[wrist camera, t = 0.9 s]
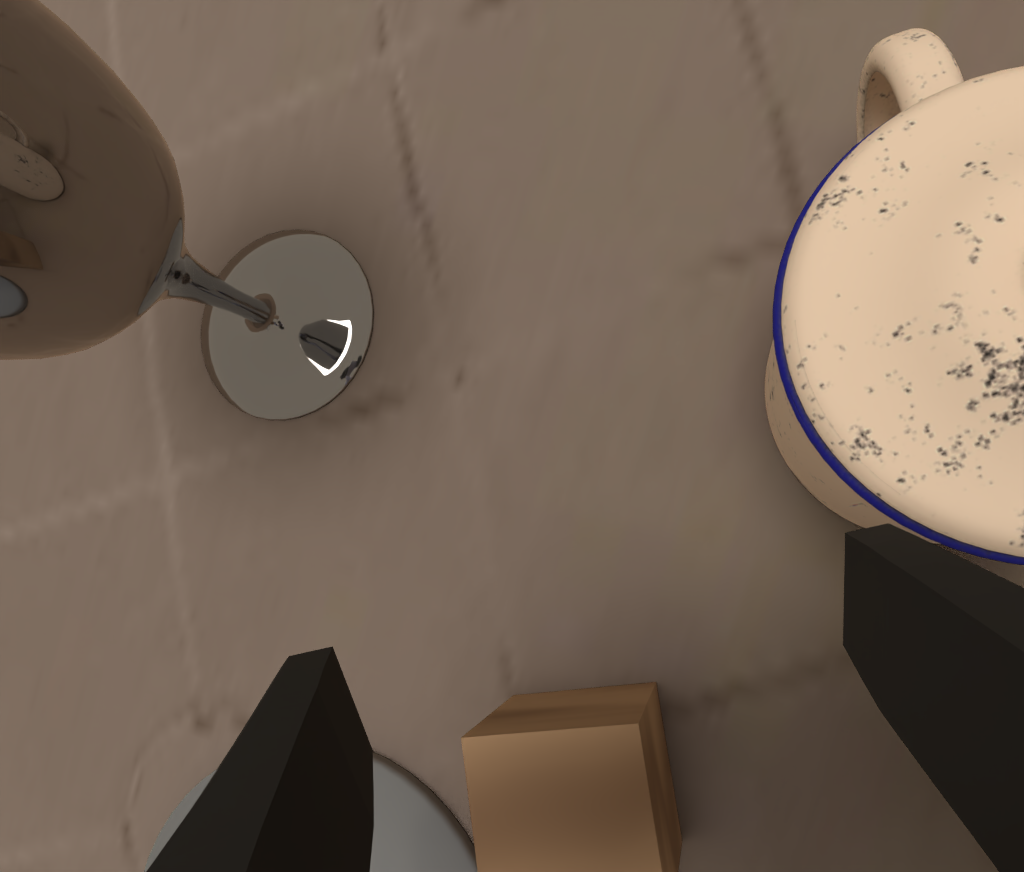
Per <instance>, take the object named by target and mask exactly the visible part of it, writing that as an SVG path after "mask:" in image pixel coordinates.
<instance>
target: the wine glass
mask: <svg viewBox="0 0 1024 872" xmlns="http://www.w3.org/2000/svg"><path fill="white" fill-rule="evenodd" d="M184 232H185V211H184V198H183V193H182V189H181V185H180V180H179V176H178V172H177V168H176V164H175V160H174V158H173V156H172V154H171V151H170V149H169V147H168V145H167V143H166V141H165V139H164V137H163V136H162V134H161V133H160V131H159V130H158V128H157V126H156V125H155V123H154V122H153V120H152V119H151V117H150V116H149V115H148V113H147V112H146V110H145V109H144V108H143V106H142V105H141V103H140V102H139V101H138V100H137V99H136V97H135V96H134V95H133V94H132V93H131V91H130V90H129V89H128V88H127V87H126V85H125V84H124V83H123V82H122V81H121V79H120V78H119V77H118V76H117V75H116V74H115V72H114V71H113V70H112V69H111V68H110V67H109V66H108V65H107V64H106V63H105V62H104V61H103V60H102V59H101V58H100V57H99V56H98V55H97V54H96V53H95V52H94V51H93V50H92V49H91V48H90V47H89V46H88V45H87V44H86V43H85V42H84V41H83V40H82V39H81V38H80V37H79V36H78V35H77V34H76V33H75V32H74V31H73V30H72V29H71V28H70V27H69V26H68V25H67V24H66V23H65V22H64V21H62V20H61V19H60V18H59V17H58V16H57V15H56V14H54V13H53V12H52V11H51V10H50V9H49V8H47V7H46V6H45V5H44V4H43V3H41V2H40V1H39V0H0V360H22V359H43V358H49V357H56V356H62V355H68V354H72V353H76V352H80V351H84V350H86V349H89V348H91V347H93V346H95V345H97V344H99V343H102V342H104V341H106V340H108V339H109V338H111V337H113V336H115V335H117V334H119V333H120V332H122V331H123V330H125V329H126V328H128V327H129V326H130V325H132V324H133V323H135V322H136V321H137V320H138V319H139V318H140V317H141V316H142V315H143V314H145V313H146V312H147V311H148V310H149V309H150V308H151V307H152V306H153V305H154V304H156V303H157V302H158V301H160V300H165V299H171V298H176V299H184V300H188V301H193V302H198V303H202V304H205V308H204V313H203V317H202V325H201V345H202V353H203V357H204V361H205V366H206V368H207V370H208V373H209V375H210V377H211V380H212V381H213V383H214V384H215V386H216V387H217V389H218V390H219V392H220V393H221V394H222V395H223V396H224V397H225V398H226V399H227V400H228V401H229V402H230V403H231V404H232V405H234V406H235V407H236V408H238V409H239V410H241V411H242V412H244V413H247V414H249V415H252V416H254V417H257V418H262V419H267V420H289V419H294V418H299V417H303V416H305V415H308V414H310V413H313V412H315V411H317V410H319V409H320V408H322V407H323V406H325V405H327V404H328V403H330V402H331V401H332V400H333V399H334V398H336V397H337V396H338V395H339V394H340V393H341V392H342V391H343V390H344V389H345V388H346V386H347V385H348V384H349V383H350V382H351V380H352V379H353V378H354V376H355V375H356V373H357V371H358V369H359V368H360V366H361V364H362V362H363V360H364V357H365V355H366V352H367V350H368V347H369V344H370V339H371V334H372V330H373V314H374V310H373V301H372V294H371V290H370V287H369V283H368V280H367V278H366V276H365V274H364V272H363V270H362V268H361V266H360V264H359V263H358V261H357V260H356V259H355V258H354V256H353V255H352V254H351V252H349V251H348V250H347V249H346V248H345V247H344V246H342V245H341V244H340V243H339V242H337V241H335V240H333V239H332V238H330V237H328V236H326V235H323V234H320V233H317V232H314V231H306V230H287V231H280V232H276V233H273V234H269V235H266V236H264V237H262V238H260V239H258V240H256V241H254V242H252V243H251V244H249V245H248V246H246V247H245V248H244V249H242V250H241V251H240V252H239V253H238V254H237V255H236V256H234V257H233V258H232V259H231V260H230V261H229V262H228V264H227V265H226V266H225V268H224V269H223V270H222V271H221V273H220V274H219V276H218V277H217V276H216V275H215V274H213V273H212V272H210V271H209V270H208V269H206V268H205V267H204V266H202V265H201V264H200V263H198V262H197V261H196V260H195V259H194V258H193V257H192V256H191V254H190V253H189V251H188V249H187V248H186V246H185V242H184Z"/></svg>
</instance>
